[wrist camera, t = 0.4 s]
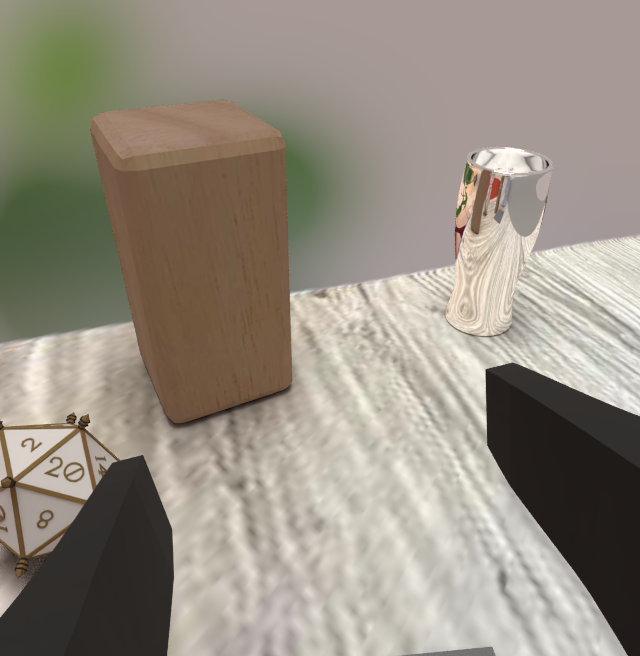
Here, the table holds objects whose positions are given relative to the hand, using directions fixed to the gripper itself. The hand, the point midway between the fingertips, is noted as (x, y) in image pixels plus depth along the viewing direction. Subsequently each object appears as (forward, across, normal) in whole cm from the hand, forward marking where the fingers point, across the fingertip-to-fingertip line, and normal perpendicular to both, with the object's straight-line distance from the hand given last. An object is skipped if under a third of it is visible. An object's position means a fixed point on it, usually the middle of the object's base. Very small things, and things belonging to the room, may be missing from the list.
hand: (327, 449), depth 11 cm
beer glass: (+35, -19, +18) cm, 43 cm away
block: (+31, +5, +15) cm, 35 cm away
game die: (+18, +15, +16) cm, 29 cm away
